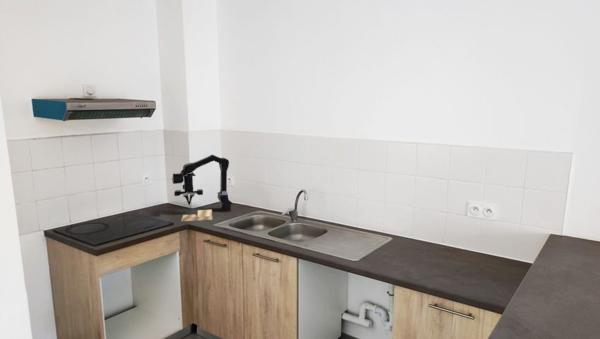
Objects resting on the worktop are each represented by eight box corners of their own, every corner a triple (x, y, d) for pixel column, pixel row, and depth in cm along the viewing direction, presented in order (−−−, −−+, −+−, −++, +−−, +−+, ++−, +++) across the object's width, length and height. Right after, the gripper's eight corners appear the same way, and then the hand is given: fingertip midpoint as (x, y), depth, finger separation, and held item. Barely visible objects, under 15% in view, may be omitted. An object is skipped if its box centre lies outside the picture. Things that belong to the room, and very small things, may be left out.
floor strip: (212, 217, 284) (212, 216, 284) (212, 221, 276) (212, 219, 276) (182, 219, 280) (182, 217, 280) (181, 223, 272) (181, 221, 272)
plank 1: (197, 215, 289) (197, 214, 289) (197, 218, 282) (196, 216, 282) (183, 216, 287) (183, 215, 287) (182, 219, 280) (182, 217, 280)
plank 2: (211, 210, 290) (211, 209, 290) (212, 217, 285) (211, 216, 284) (197, 211, 288) (197, 210, 288) (197, 218, 283) (197, 216, 282)
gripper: (202, 179, 292) (203, 201, 295) (175, 180, 288) (176, 202, 291) (202, 182, 281) (203, 205, 284) (173, 184, 278) (174, 206, 280)
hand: (189, 204), depth 285 cm, fingers closed
